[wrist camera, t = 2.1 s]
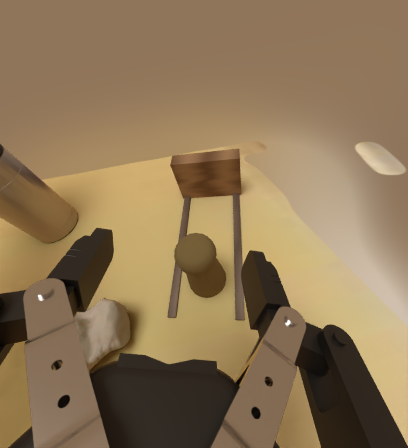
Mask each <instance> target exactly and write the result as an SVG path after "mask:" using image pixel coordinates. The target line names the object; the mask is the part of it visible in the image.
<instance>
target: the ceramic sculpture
mask: <svg viewBox="0 0 408 448" xmlns="http://www.w3.org/2000/svg"><path fill="white" fill-rule="evenodd" d="M74 320H75V323H76V327H77V331H78V334H79V338H80V341H81V345H82V349H83V352H84V356H85V359H86V363H87V366H88V370H89V372H90V370H91V368H92V367H93V366H95V365H96V364H97V363H98V362H99V361H100V360H101V359H102V358H103V357H104V356H105V355H106V354H108V353H109V352H111V351H113V350H117V349H120V348H122V347H124V346H125V345H126V344H127V343H128V342H129V339H130V336H131V334H130V319H129V317H128V314H127V312H126V308H125V307H124V306H123V305H122V304H120V303H118V302H116V301H114V300H108V299H106V298H103V299H102V300H100V301H99V302H98V303H97V304H96V305H95V306H94V307H93V308H91V309H88V310H86V311H85V312H80V313H78V314H76V315H75V316H74Z"/></svg>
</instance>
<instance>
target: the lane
mask: <svg viewBox="0 0 408 448" xmlns="http://www.w3.org/2000/svg"><path fill="white" fill-rule="evenodd" d="M171 168H172V171H173V173H174V176H175V178H176V181H177V183H178V186H179V188H180V191H181V194H182V196H183V198H185V199H184V206H183V213H182V220H181V227H180V234H179V241H180V240H181V239H182V238H183V237H184V236H186V233H187V225H188V217H189V208H190V200H191V198H197V197H211V196H226V195H233V218H234V265H235V312H236V320H244V298H243V286H242V280H241V270H242V251H241V227H240V204H239V195H240V194H241V178H240V154H239V149H232V150H222V151H213V152H204V153H194V154H185V155H176V156H172V160H171ZM179 241H178V242H179ZM181 273H182V270H181V269H180V268H179V266H178V265H177V264H176V261H175V268H174V275H173V282H172V289H171V296H170V303H169V310H168V317H170V318H176V314H177V306H178V298H179V290H180V281H181Z"/></svg>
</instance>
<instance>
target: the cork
mask: <svg viewBox="0 0 408 448" xmlns="http://www.w3.org/2000/svg"><path fill="white" fill-rule="evenodd" d="M174 256H175V261H176V264H177V265H178V266H179V268H180V269H181V270H182V271H184V272H185V273H186V275H187V278H188V281H189V284H190V287H191V289H192V290H193V292H194V293H195V294H197V295H198V296H200V297H205V298H207V297H213V296H215V295H217V294H218V293H219V292H220V291H222V289H223V287H224V286H225V282H226V274H225V271H224V269H223V268H222V266H221V265H220V263H219V262H218V260H217V259H216V248H215V245H214V243H213V242H212V240H211V239H209V238H208V237H207V236H205V235H203V234H199V233H193V234H189V235H186V236H184V237H183V238H182V239H181V240H180V241H179V242H178V244H177V245H176V248H175V255H174Z"/></svg>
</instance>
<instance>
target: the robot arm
mask: <svg viewBox="0 0 408 448" xmlns="http://www.w3.org/2000/svg"><path fill="white" fill-rule="evenodd" d="M0 218H2V219H4V220H5V221H7V222H9V223H10V224H12V225H14V226H16V227H17V228H19V229H21V230H22V231H24V232H26V233H28V234H29V235H31V236H33V237H35V238H36V239H38V240H40V241H42V242H44V243H51V242H55V241H58V240H60V239H61V238H63V237H65V236H66V235H67V234H68V233H69V232H70V231H71V230H72V229H73V228H74V226H75V225H76V222H77V219H78V214H77V212H76V211H75V210H74V209H73V208H72V207H71V206H70V205H69V204H68V203H66V202H65V201H64V200H63V199H62V198H61V197H60V196H59V195H58V194H56V193H55V192H54V191H53V190H52V189H51V188H50V187H48V186H47V185H46V184H45V183H44V182H43V181H42V180H41V179H39V178H38V177H37V176H36V175H35V174H34V173H33V172H31V171H30V170H29V169H28V168H27V167H26V166H25V165H23V164H22V163H21V162H20V161H19V160H18V159H17V158H15V157H14V156H13V155H12V154H11V153H10V152H9V151H8V150H6V149H5V148H4V147H3V146H2V145H1V144H0ZM113 252H114V248H113V234H112V230H108V229H102V228H96V229H95V230H94V232H93V233H92V234H91V236H83V237H82V238H80V239H78V240H77V241H76V242H75V243H74V244H73V245H72V247H71V248H70V250H68V252H67V253H66V255H65V256H64V257H63V258H62V259H61V261H60V262H59V263H58V264H57V266H56V267H55V268H54V269H53V271H52V272H51V273H50V274H49V276H48V277H47V278H46V279H44V280H41V281H38V282H36V283H34V284H33V285H31V286H30V287H29V288H28V289H27V290H24V291H18V292H11V293H3V294H0V365H1V363H2V362H3V360H4V359H5V357H6V356H7V354H8V353H9V351H10V350H11V348H12V346H13V345H14V343H17V342H22V341H26V340H28V341H27V342H25V359H26V369H27V379H28V390H29V400H30V410H31V421H32V426H31V427H30V428H29V429H28V430H27V431H26V432H25V433H24V434H23V435H22V436H20V437H19V438H18V439H17V440H16V441H15V442H14V443H13V444H12V445H11V446H10V447H8V448H280V447H279V446H278V444H277V443H276V441H275V439H276V436H277V433H278V429H279V426H280V423H281V420H282V417H283V413H284V410H285V407H286V404H287V401H288V397H289V394H290V391H291V388H292V385H293V381H294V378H295V375H296V371H297V366H298V367H299V370H300V374H301V377H302V381H303V384H304V388H305V391H306V395H307V398H308V402H309V406H310V409H311V413H312V416H313V420H314V423H315V427H316V430H317V434H318V438H319V441H320V445H321V448H408V446H407V444H406V442H405V440H404V438H403V436H402V434H401V432H400V430H399V428H398V427H397V425H396V423H395V421H394V419H393V417H392V415H391V413H390V411H389V409H388V407H387V405H386V403H385V402H384V400H383V398H382V396H381V394H380V392H379V390H378V388H377V386H376V384H375V382H374V380H373V378H372V377H371V375H370V373H369V371H368V369H367V367H366V365H365V363H364V361H363V359H362V357H361V355H360V353H359V352H358V350H357V348H356V346H355V344H354V342H353V340H352V339H351V337H350V336H349V335H348V334H347V333H346V332H345V331H344V330H343V329H341V328H339V327H337V326H335V325H326V326H325V327H324V328H323V329H321V328H318V327H316V326H314V325H311V324H309V323H307V322H305V320H304V319H303V317H302V316H301V315H300V313H298V312H297V311H296V310H294V309H293V308H291V307H290V304H289V302H288V299H287V296H286V294H285V291H284V288H283V286H282V284H281V281H280V278H279V275H278V273H277V270H276V268H275V267H274V266H273V265H272V263H271V262H268V261H266V259H265V256H264V253H263V252H258V251H252V250H250V251H249V253H248V255H247V257H246V260H245V262H244V264H243V267H242V270H241V280H242V286H243V291H244V296H245V301H246V307H247V312H248V317H249V323H250V328H251V329H253V330H258V333H259V338H258V340H257V342H256V344H255V346H254V348H253V350H252V351H251V353H250V355H249V357H248V359H247V361H246V363H245V365H244V366H243V368H242V370H241V372H240V373H239V375H238V376H237V378H236V380H235V381H234V380H233V379H232V378H231V377H230V376H228V375H227V374H226V373H224V372H222V371H221V370H218V369H217V361H206V360H195V359H193V360H189V361H184V362H179V363H175V364H166V363H163V362H161V361H158V360H156V359H153V358H151V357H148V356H146V355H137V354H125V353H120V356H119V359H118V361H113V362H110V363H107V364H105V365H103V366H101V367H99V368H97V369H96V370H94V371H93V372H91V373H89V370H88V366H87V363H86V359H85V356H84V352H83V349H82V345H81V341H80V338H79V334H78V331H77V327H76V323H75V320H74V316H75V314H76V312H85V311H86V310H87V308H88V306H89V304H90V302H91V300H92V298H93V296H94V294H95V292H96V290H97V288H98V286H99V284H100V282H101V280H102V278H103V276H104V274H105V272H106V270H107V268H108V266H109V264H110V262H111V260H112V258H113Z"/></svg>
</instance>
